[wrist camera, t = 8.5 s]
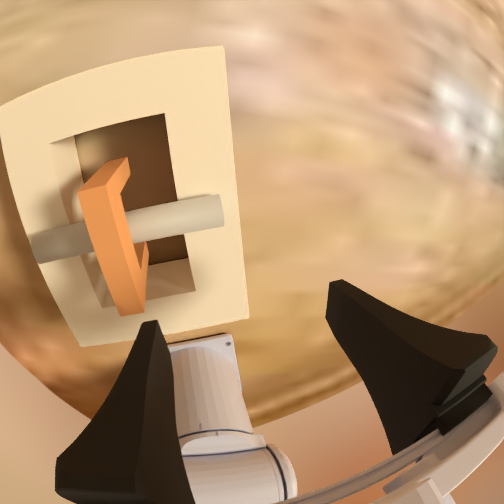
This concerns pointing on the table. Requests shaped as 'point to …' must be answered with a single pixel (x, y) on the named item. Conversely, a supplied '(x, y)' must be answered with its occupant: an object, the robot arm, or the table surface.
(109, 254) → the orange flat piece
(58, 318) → the table surface
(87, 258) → the cream frame with crossbar
